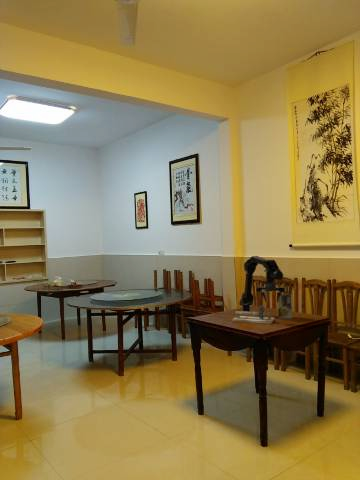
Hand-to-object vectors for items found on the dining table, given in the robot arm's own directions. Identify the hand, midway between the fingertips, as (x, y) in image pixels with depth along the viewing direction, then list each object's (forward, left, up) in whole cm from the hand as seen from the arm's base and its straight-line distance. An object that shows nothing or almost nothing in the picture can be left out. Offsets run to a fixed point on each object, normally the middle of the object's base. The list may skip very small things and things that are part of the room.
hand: (271, 302), depth 260 cm
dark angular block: (0, -7, -11) cm, 13 cm away
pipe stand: (0, -13, -13) cm, 18 cm away
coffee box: (-15, +6, -13) cm, 21 cm away
